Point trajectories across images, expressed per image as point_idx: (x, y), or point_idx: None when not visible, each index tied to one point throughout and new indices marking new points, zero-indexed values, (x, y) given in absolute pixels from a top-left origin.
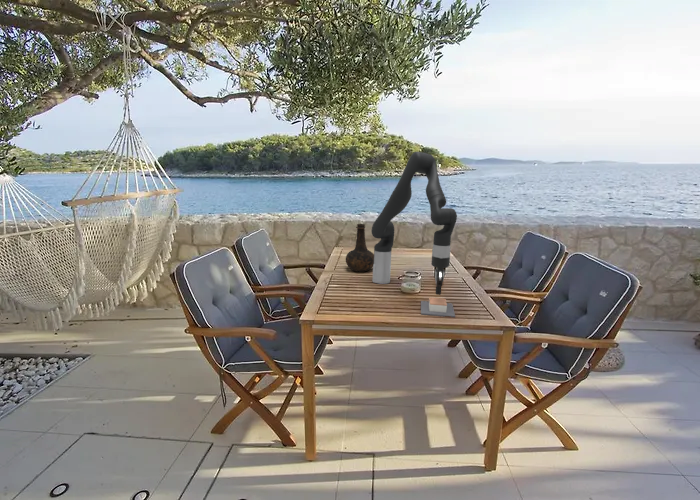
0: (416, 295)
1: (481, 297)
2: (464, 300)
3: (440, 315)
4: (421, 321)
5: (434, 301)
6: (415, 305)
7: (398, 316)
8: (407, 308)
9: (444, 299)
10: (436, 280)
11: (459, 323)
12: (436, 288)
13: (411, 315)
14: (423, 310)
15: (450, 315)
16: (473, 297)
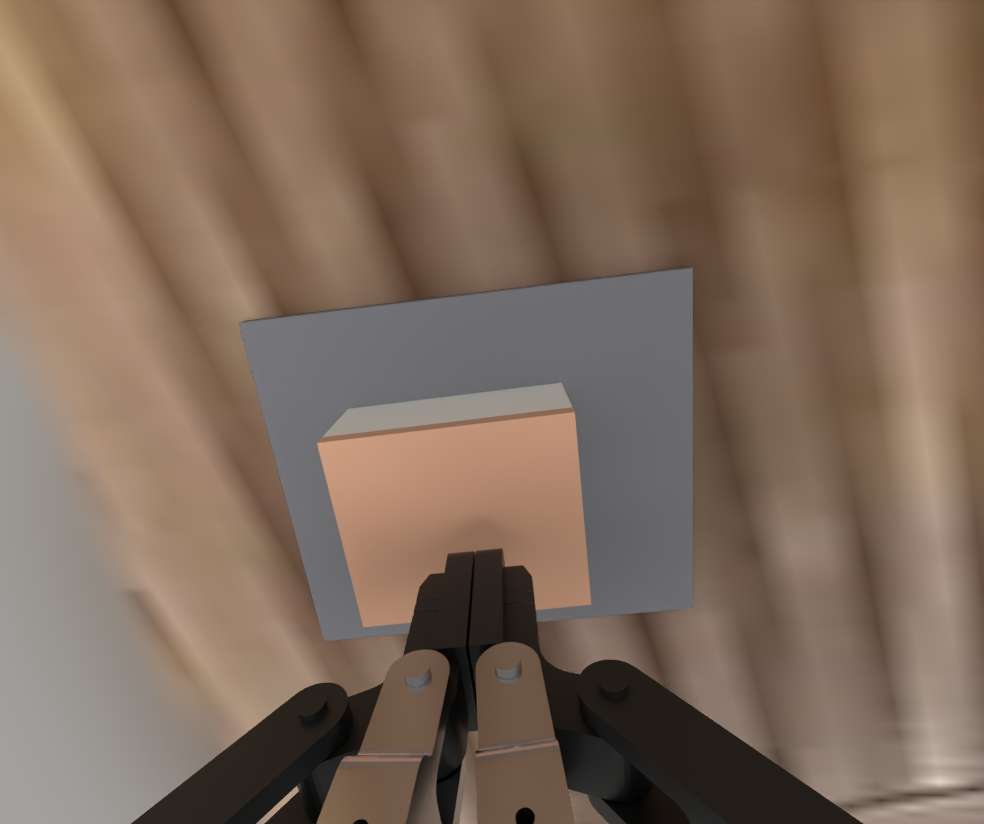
0: (980, 166)
1: (973, 817)
2: (854, 695)
3: (295, 518)
4: (48, 351)
5: (423, 489)
6: (537, 214)
7: (35, 50)
8: (381, 122)
9: (552, 595)
10: (344, 791)
11: (200, 663)
12: (438, 621)
13: (161, 216)
14: (341, 341)
15: (317, 605)
16: (966, 762)
